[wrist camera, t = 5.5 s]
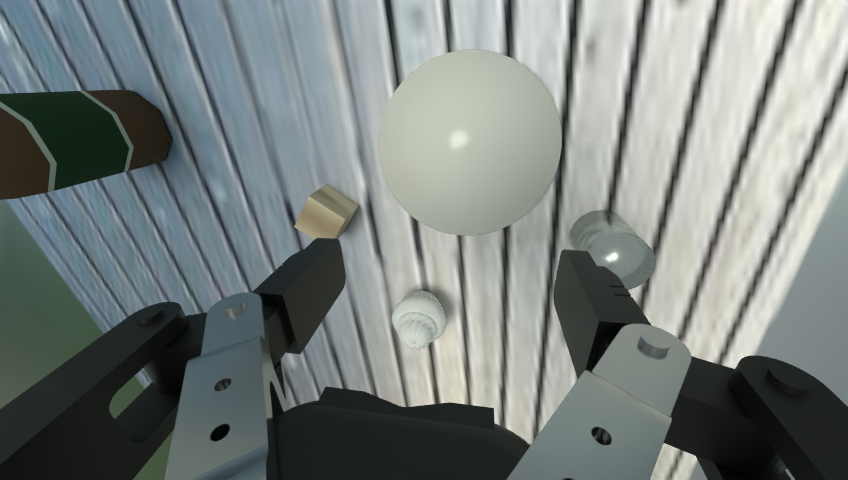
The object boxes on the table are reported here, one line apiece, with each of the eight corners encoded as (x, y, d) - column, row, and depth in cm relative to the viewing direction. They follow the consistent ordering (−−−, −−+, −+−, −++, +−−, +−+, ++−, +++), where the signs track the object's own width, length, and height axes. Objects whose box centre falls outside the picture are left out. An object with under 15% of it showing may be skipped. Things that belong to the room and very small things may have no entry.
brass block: (344, 231, 35) (328, 248, 32) (313, 211, 35) (294, 226, 31) (359, 204, 34) (345, 219, 30) (327, 183, 33) (308, 196, 30)
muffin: (402, 319, 40) (388, 363, 34) (396, 279, 37) (379, 319, 31) (451, 321, 39) (445, 367, 33) (448, 280, 36) (441, 321, 30)
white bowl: (445, 254, 34) (444, 261, 33) (349, 130, 30) (343, 133, 29) (590, 173, 28) (595, 177, 27) (496, 1, 24) (497, -4, 22)
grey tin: (583, 263, 32) (602, 300, 27) (560, 226, 31) (576, 257, 26) (634, 241, 30) (665, 275, 25) (612, 200, 29) (640, 228, 24)
